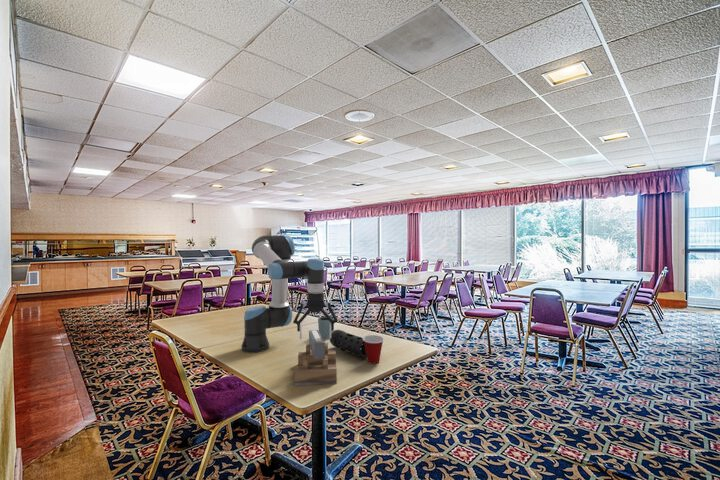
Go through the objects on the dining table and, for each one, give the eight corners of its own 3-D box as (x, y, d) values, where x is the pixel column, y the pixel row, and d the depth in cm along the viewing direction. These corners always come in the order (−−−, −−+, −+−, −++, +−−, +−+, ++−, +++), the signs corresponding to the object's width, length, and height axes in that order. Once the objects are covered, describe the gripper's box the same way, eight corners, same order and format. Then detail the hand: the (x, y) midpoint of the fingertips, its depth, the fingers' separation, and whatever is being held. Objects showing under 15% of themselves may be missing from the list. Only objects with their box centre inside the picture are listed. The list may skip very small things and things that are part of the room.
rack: (336, 383, 148) (336, 359, 148) (294, 385, 147) (293, 361, 147) (335, 362, 174) (335, 342, 174) (299, 363, 172) (299, 343, 172)
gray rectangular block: (314, 359, 149) (314, 342, 149) (309, 344, 170) (308, 329, 170) (324, 358, 150) (324, 341, 150) (318, 344, 171) (318, 329, 171)
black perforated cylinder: (359, 361, 175) (359, 341, 175) (328, 348, 197) (327, 330, 197) (373, 357, 181) (373, 337, 181) (341, 345, 203) (341, 327, 203)
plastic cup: (368, 367, 167) (368, 342, 167) (359, 360, 177) (359, 336, 177) (388, 363, 171) (388, 339, 171) (378, 357, 181) (378, 333, 181)
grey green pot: (320, 334, 225) (320, 316, 225) (335, 335, 224) (335, 316, 224) (316, 339, 215) (316, 320, 215) (332, 339, 214) (332, 320, 214)
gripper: (287, 294, 155) (287, 341, 156) (342, 293, 158) (343, 339, 158) (289, 291, 163) (289, 336, 163) (342, 290, 165) (342, 334, 166)
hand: (315, 338), depth 161 cm, fingers open, 13 cm apart
